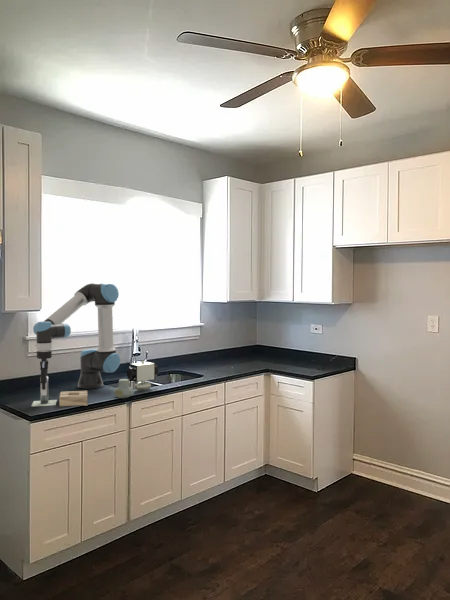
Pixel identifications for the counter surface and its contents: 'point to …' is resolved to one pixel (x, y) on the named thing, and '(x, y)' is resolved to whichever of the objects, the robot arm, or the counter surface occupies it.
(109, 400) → the counter surface
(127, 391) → the air freshener
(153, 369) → the white boxy device
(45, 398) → the pin
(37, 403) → the mat
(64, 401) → the block
